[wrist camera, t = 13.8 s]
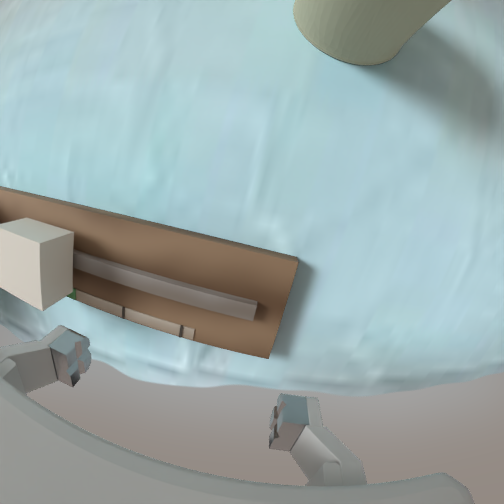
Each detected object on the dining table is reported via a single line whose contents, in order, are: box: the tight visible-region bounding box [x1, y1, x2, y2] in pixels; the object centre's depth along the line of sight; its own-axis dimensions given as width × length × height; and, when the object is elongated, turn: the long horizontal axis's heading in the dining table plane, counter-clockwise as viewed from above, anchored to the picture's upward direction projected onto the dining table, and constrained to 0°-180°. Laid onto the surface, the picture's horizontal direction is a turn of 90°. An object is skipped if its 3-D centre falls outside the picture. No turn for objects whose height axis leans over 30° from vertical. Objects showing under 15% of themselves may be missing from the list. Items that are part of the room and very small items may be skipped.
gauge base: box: [0, 186, 298, 359], centre depth 17 cm, size 8×36×8 cm, turn 77°
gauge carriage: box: [0, 218, 74, 311], centre depth 17 cm, size 7×8×4 cm
